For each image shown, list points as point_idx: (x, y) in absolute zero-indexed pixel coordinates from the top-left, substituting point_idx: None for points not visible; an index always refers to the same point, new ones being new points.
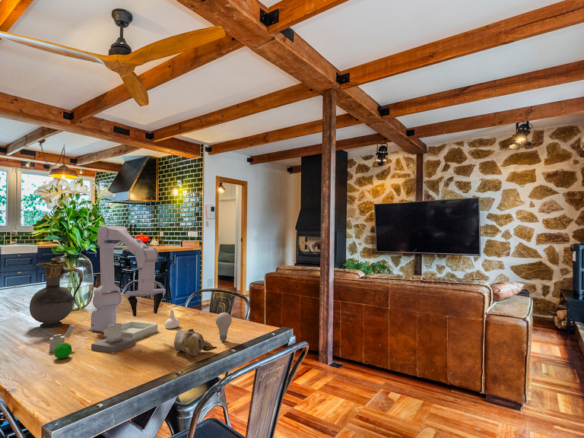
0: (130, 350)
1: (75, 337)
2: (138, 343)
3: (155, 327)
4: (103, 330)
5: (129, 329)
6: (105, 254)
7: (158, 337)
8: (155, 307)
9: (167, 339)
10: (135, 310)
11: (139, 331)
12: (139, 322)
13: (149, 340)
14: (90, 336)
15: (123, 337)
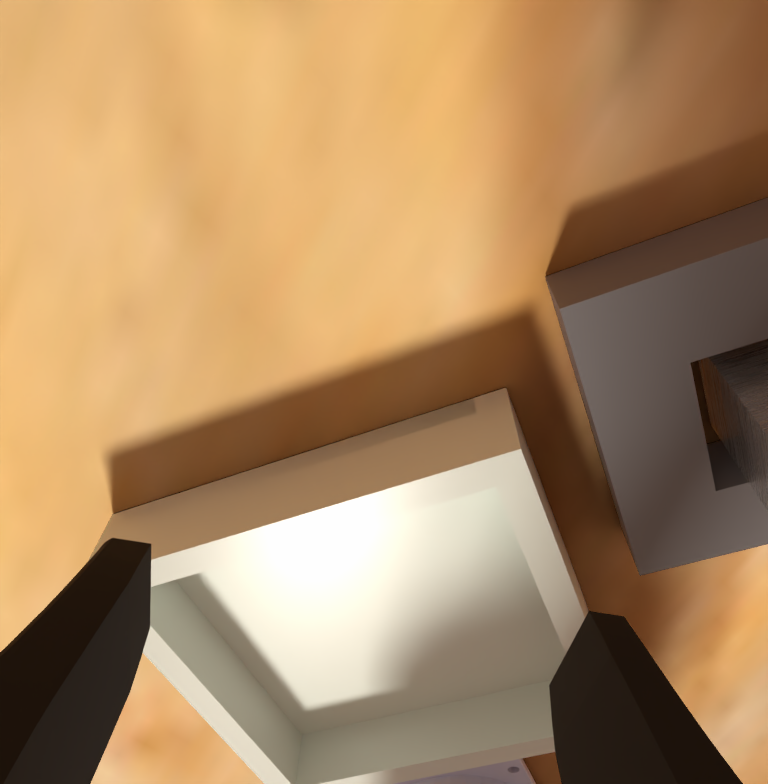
0: (763, 56)
1: (737, 775)
2: (504, 267)
3: None
4: (520, 779)
5: (351, 685)
6: None
7: (192, 304)
8: (83, 695)
9: (117, 122)
10: (678, 736)
11: (399, 480)
12: (238, 730)
13: (339, 276)
14: None
15: (623, 454)
